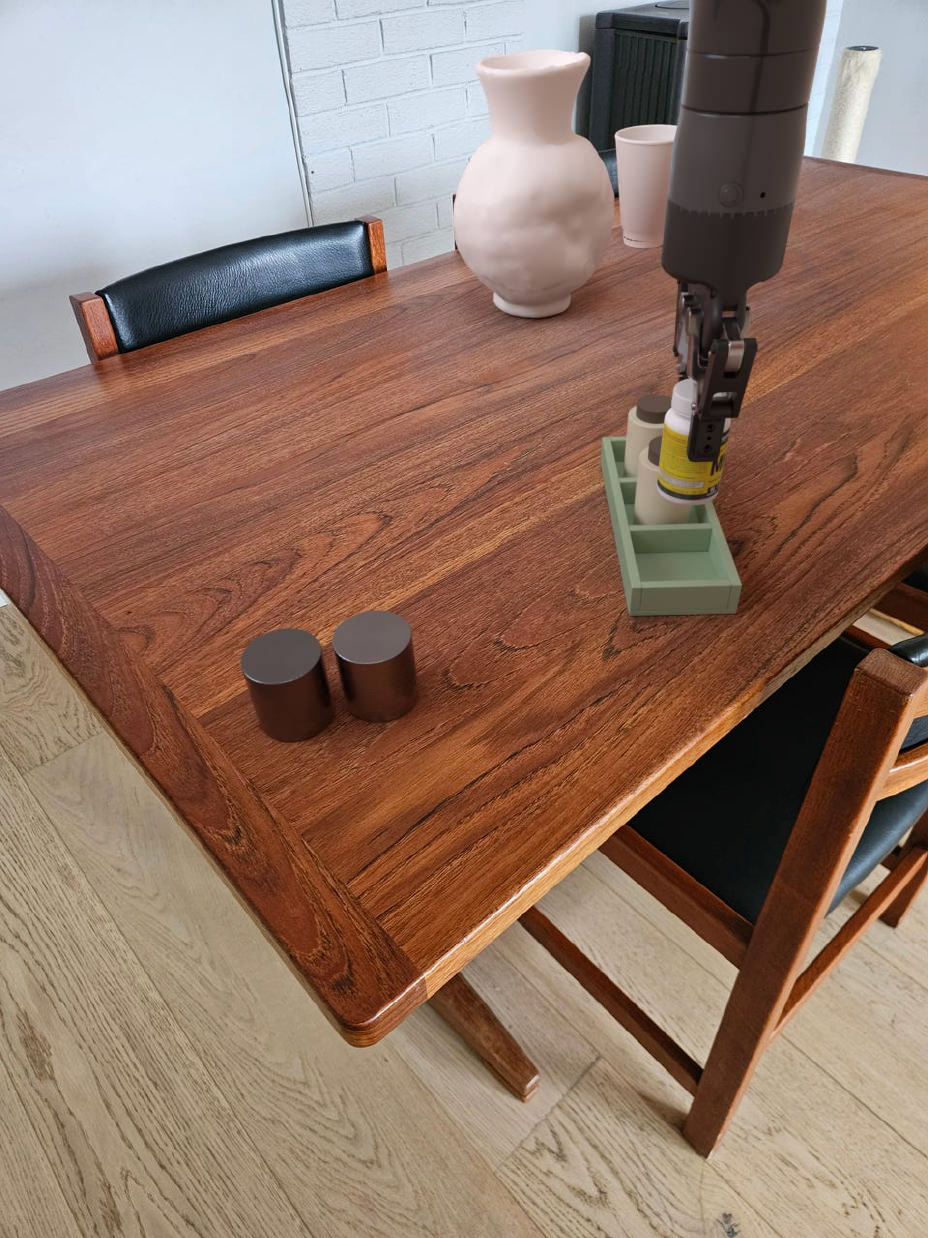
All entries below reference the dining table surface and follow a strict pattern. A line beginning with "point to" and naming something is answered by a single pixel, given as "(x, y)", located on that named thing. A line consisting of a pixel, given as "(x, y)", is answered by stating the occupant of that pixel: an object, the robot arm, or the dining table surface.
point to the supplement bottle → (675, 470)
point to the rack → (667, 552)
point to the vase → (533, 187)
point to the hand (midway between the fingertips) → (695, 439)
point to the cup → (644, 181)
